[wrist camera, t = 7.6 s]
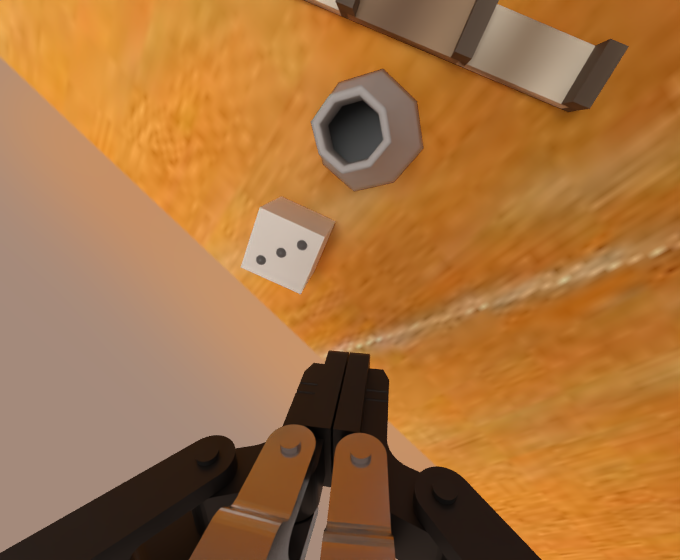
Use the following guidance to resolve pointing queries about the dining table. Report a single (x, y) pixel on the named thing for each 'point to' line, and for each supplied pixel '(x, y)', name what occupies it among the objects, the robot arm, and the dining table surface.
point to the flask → (368, 130)
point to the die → (287, 243)
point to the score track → (494, 45)
